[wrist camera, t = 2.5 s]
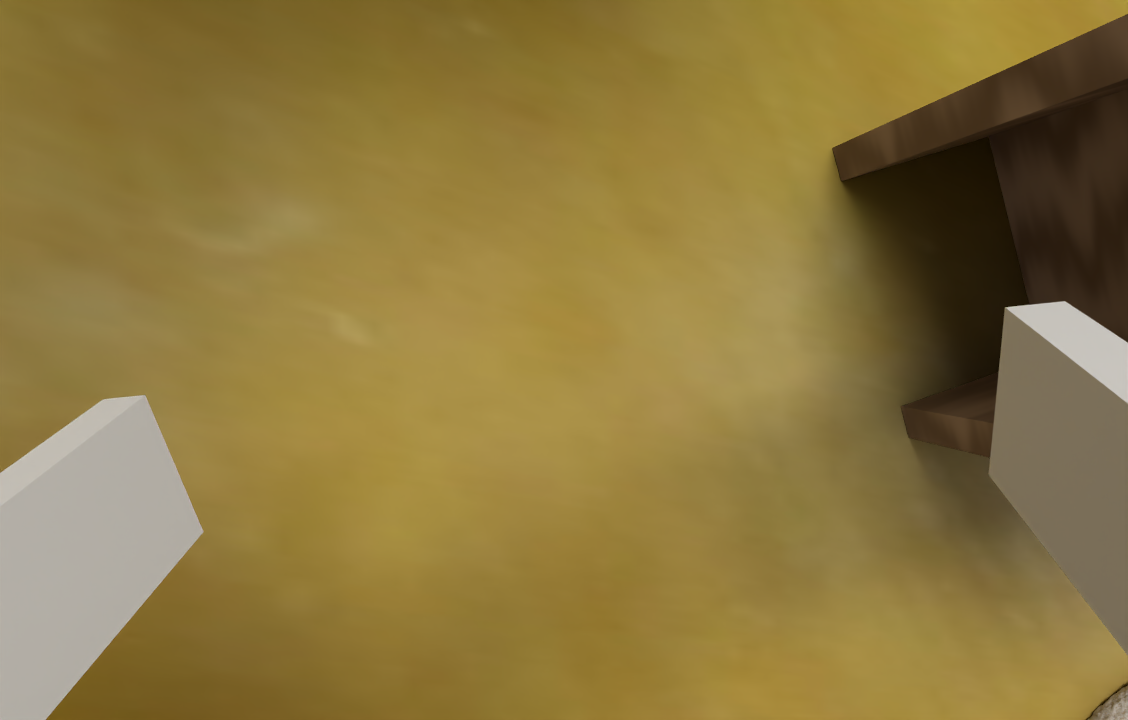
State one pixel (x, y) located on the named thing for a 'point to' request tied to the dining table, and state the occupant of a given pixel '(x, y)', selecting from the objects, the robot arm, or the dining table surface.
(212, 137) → the dining table surface
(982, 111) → the walnut stand
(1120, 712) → the washcloth
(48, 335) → the dining table surface
